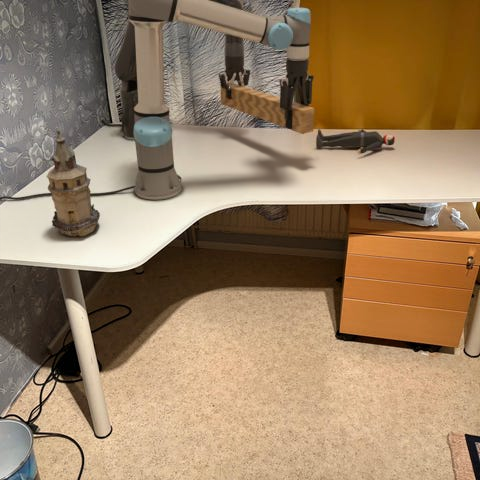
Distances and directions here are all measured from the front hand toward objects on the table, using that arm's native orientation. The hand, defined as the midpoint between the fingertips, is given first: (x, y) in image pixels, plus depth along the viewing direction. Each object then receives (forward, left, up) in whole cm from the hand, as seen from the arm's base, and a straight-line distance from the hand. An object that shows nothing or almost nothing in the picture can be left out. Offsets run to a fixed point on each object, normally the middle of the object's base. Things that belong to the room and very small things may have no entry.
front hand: (295, 126), depth 190 cm
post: (-9, +16, -1) cm, 18 cm away
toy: (+27, +15, -15) cm, 35 cm away
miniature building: (-71, -42, -15) cm, 84 cm away
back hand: (-19, +32, +3) cm, 37 cm away
